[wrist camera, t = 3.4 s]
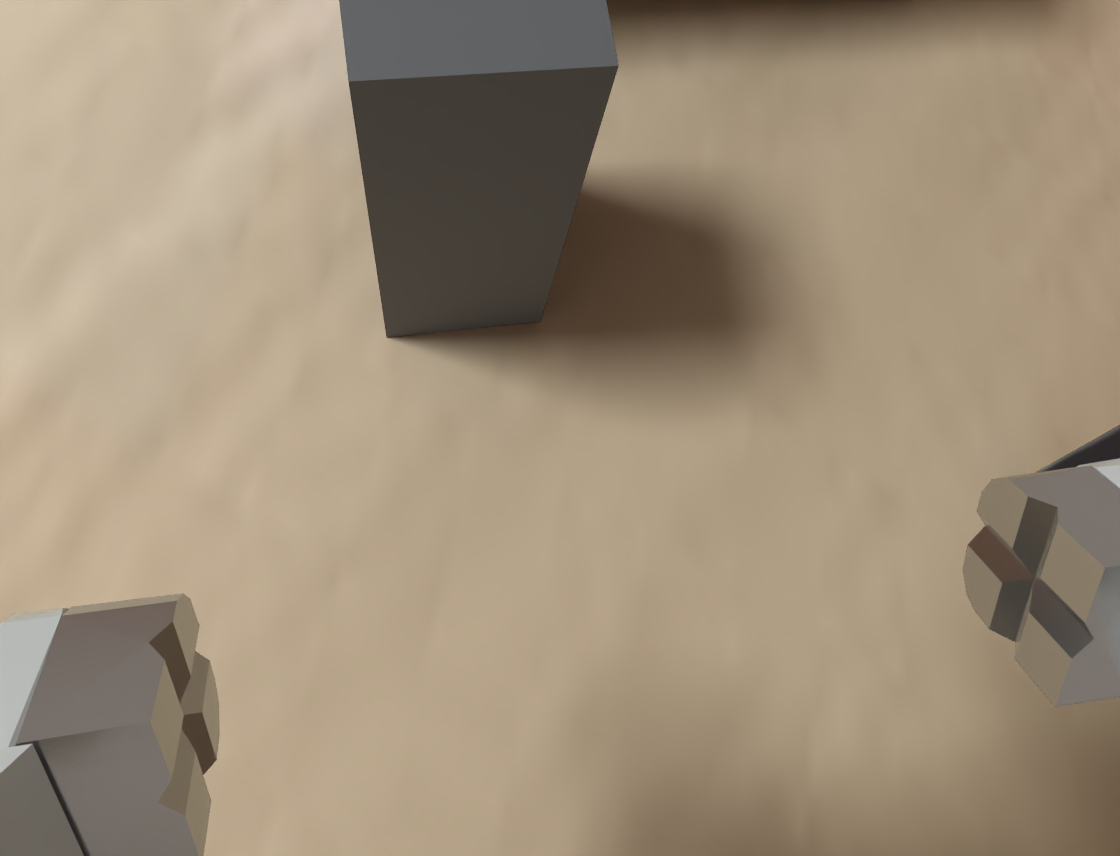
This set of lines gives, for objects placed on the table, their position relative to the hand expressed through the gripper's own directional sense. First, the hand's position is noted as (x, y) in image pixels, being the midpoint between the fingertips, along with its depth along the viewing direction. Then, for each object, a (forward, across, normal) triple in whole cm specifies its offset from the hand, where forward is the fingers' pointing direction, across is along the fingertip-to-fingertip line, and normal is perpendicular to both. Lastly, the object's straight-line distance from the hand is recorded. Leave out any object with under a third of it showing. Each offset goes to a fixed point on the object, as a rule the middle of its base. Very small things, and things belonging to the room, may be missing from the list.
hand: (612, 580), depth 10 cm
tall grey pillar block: (+17, 0, +3) cm, 17 cm away
